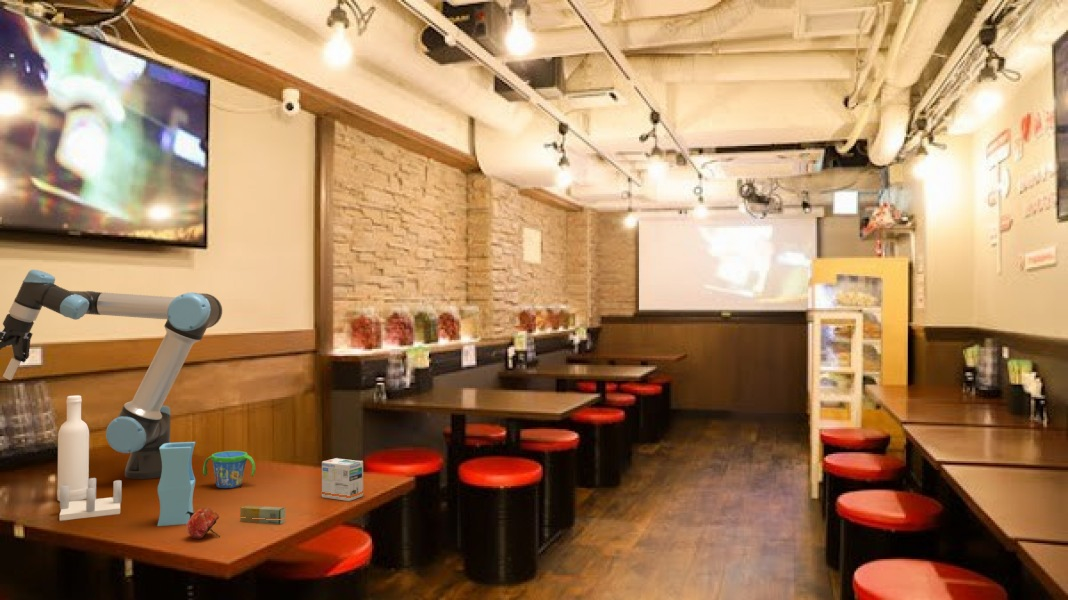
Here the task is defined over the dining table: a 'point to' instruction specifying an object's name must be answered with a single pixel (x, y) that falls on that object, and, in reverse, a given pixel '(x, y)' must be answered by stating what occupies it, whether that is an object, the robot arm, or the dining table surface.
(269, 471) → the dining table surface
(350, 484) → the light bulb box
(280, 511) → the medication box
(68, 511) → the pin caddy
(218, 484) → the snack cup
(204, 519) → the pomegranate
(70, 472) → the bottle
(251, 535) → the dining table surface
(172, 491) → the vase
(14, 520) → the dining table surface
